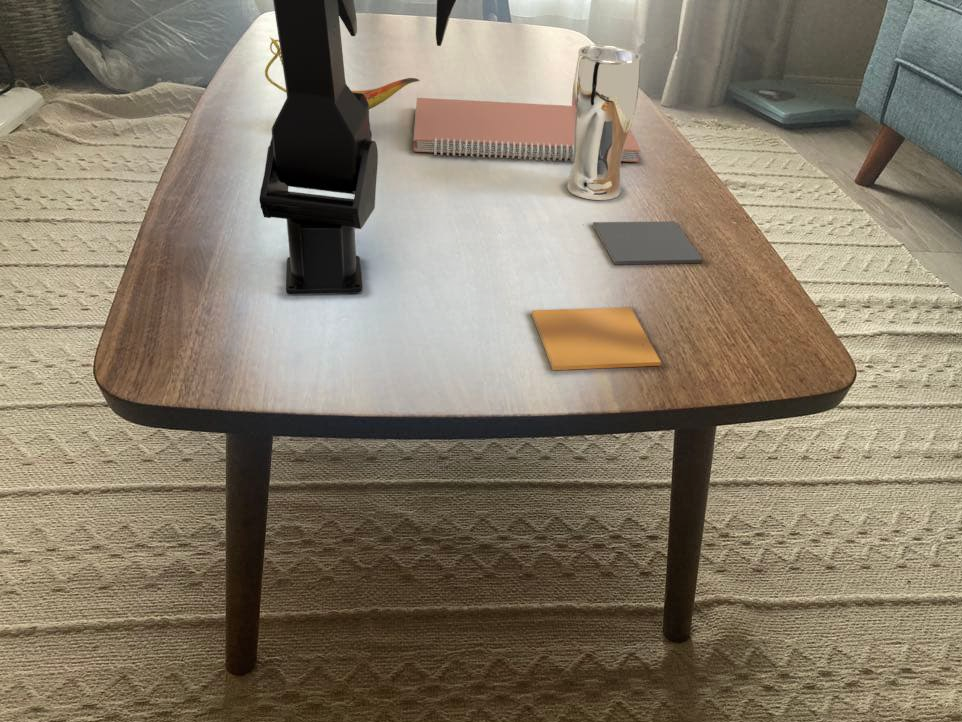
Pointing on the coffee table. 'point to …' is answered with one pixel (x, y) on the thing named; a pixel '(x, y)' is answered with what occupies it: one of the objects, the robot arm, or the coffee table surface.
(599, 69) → the beer glass
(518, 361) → the coffee table surface
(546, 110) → the notebook
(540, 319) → the honey coaster
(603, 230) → the slate coaster
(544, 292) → the coffee table surface
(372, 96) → the magic lamp
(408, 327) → the coffee table surface
